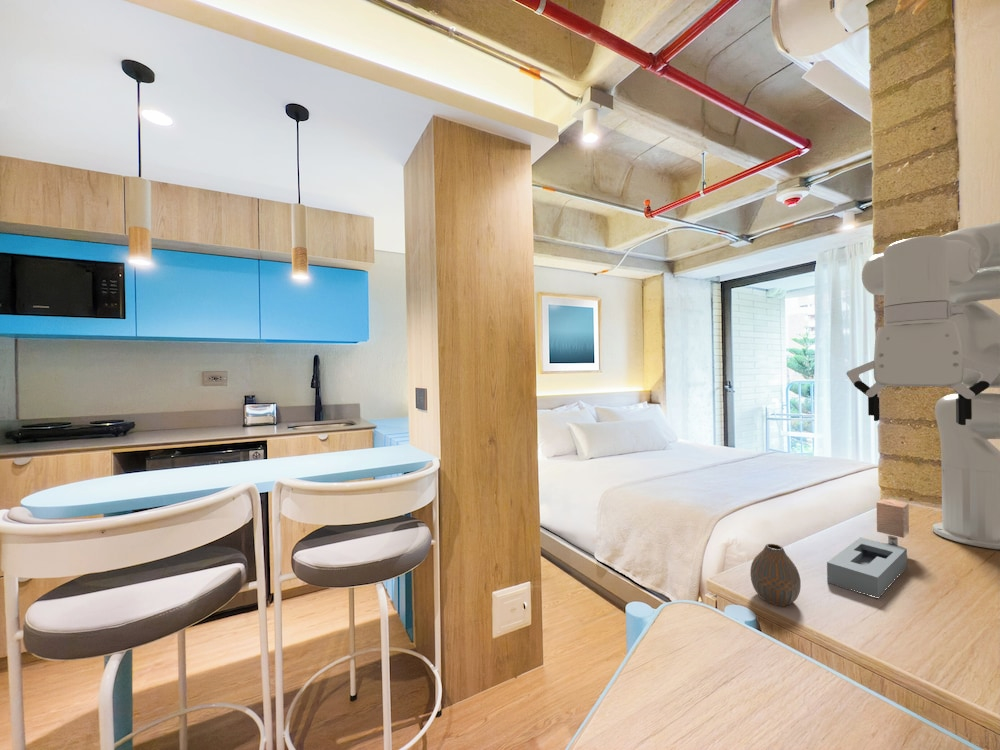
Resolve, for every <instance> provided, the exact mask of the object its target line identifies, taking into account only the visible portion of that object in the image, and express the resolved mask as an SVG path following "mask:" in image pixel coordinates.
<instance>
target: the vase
mask: <svg viewBox="0 0 1000 750" xmlns="http://www.w3.org/2000/svg"><path fill="white" fill-rule="evenodd" d="M749 573H750V579H751V584H752V587H753V589H754V591H755V592H756V593H757V595H759V597H760V598H761V599H762V600H763V601H765V602H766V603H768V604H772V605H773V606H774V605H775V606H780V607H781V606H782V607H784V606H785V607H786V606H789V605H790V604H793V603H794V602H795V601H796V600H797V599H798V597H799V595H800V593H801V587H802V586H801V585H802V584H801V577H800V573H799V571H798V569H797V566H796V565H795V563H794V562H793V561H792V559H791V558H790V557H789V556H788V554H787V553H786V551H785V549H784V547H783V546H782V545H779V544H776V543H767V544H765V546H764V548H763V549H762V550H761V551H760V552H759V553H758V554H756V555H755V557H754V558H753V560H752V562H751V566H750V572H749Z"/></svg>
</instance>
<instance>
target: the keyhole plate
mask: <svg viewBox="0 0 1000 750" xmlns="http://www.w3.org/2000/svg"><path fill="white" fill-rule="evenodd" d="M898 546H899V545H898ZM898 546H894V545H890V544H885V542H881V541H877V540H873V539H868V538H864V537H859V538H858V539H856V540H854V541H853V542H852V543H851V544H849V545H848V546H847V547H845V548H844V549H843V550H841V551H840V552H838V553H837V554H836V555H835V556H833V557H832V558H830V559H829V560H828V561H826V576H827V577H826V582H829V583H828V584H830V583H832V584H831V585H833V584H835V585H834V586H836V585H838V586H837V587H839V586H841V587H840V588H842V587H844V588H843V589H845V588H847V589H846V590H848V589H852V590H855V591H858V592H861V593H865V594H868V595H872V596H875V597H879V596H880V595H881V594H882V593H883V592H884V591H885V589H886V588H888V586H889V585H890V584H891V583H892V582H893V581H894V579H896V578H897V576H899V574H901V573H902V572H903V571H904V572H905V570H907V568H908V560H907V559H908V558H907V557H908V553H907V552H908V551H907V550H908V549H907V548H905V547H903V546H901V547H898ZM902 547H903V548H902ZM904 572H903V573H904ZM903 573H902V574H903ZM902 574H901V575H902ZM899 577H900V576H899ZM897 579H898V578H897ZM897 579H896V580H897ZM894 582H895V581H894ZM894 582H893V583H894ZM888 589H889V588H888ZM885 592H886V591H885ZM885 592H884V593H885ZM884 593H883V594H884ZM883 594H882V595H883Z"/></svg>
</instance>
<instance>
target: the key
mask: <svg viewBox="0 0 1000 750" xmlns="http://www.w3.org/2000/svg"><path fill="white" fill-rule="evenodd" d="M909 510H910V509H909V503H907V502H902V501H896V500H892V499H891V500H890V499H886V498H881V499H880V500H879V501H876V533H882V534H886V535H888V536H887V540H888V542H887V543H885V542H884V543H885V544H890V545H894V546H898V547H902V548H904V547H903V546H902V545H899V543H898V541H899V538H903V539H904V538H905V537H906V536H907V535H909V533H910V525H909V523H910V521H909V519H910V518H909Z"/></svg>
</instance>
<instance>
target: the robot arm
mask: <svg viewBox="0 0 1000 750" xmlns="http://www.w3.org/2000/svg"><path fill="white" fill-rule="evenodd" d="M861 281H862V282H861V283H862V285H863V287H864V288H865V290H866V291H867V292H868V293H870V294H871V295H875V296H883V326H879V327H878V328H877V332H876V335H875V341H874V354H873V360H872V361H869V362H867V363H864V364H861V365H859V366H857V367H855V368H852V369H850V370H848V371H847V372H846V375H847V378H848V379H849V381H850V382H851V383H852V384H853V386H854V387H855V388H856V389H858V390H859V391H860V392H861V393H863V394H864V395H866V397H867V401H868V402H867V404H868V405H867V406H868V409H867V410H868V411H867V412H868V416H873V421H875V422H879V421H880V420H881V419H880V416H881V415H880V397H879V396H878V395H879V392H880V391H882V390H883V389H884V388H885V387H887V386H888V387H950V388H951V389H952V390H953V391H955V392H956V393H951V394H947V395H945V396H943V397H940V398H939V399H938V400H937V401H936V403H935V407H934V415H935V419H936V424H937V428H938V434H939V440H940V453H941V456H940V459H941V460H940V461H941V517H942V518H941V519H942V521H941V522H937V523H934V524H932V529H931V530H932V531H933V533H934V534H936V535H938V536H940V537H942V538H945V539H947V540H950V541H954V542H957V543H960V544H965V545H969V546H972V547H979V548H984V549H992V550H1000V450H999V449H998V447H996V446H995V445H994V444H993V443H992V442H990V441H989V440H1000V393H985V392H984V391H985V390H987V389H988V388H989V389H996V388H997V389H1000V314H999V313H998V312H996V311H995V310H994V309H992V308H990V307H989V306H987V305H985V304H983V303H982V302H981V301H991V300H999V299H1000V221H996V222H991V223H986V224H981V225H980V224H979V225H976V226H975V225H974V226H972V227H967V228H960V229H956V230H953V231H951V232H948V233H945V234H943V235H923V236H916V237H910V238H906V239H902V240H898V241H895V242H893V243H891V244H889V245H888V246H886V247H885V248H884V251H883V252H879V253H877V254H874V255H872V256H870V257H869V258H868V259H867V260H866V262H865V263H864V265H863V268H862V271H861ZM871 370H873V378H874V381H875V383H874V384H873V385H871V386H869V385H867V384H866V383H865V382H863V381H862V379H861V377H860V375H862V374H864V373H866V372H868V371H871ZM982 392H983V393H982Z"/></svg>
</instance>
